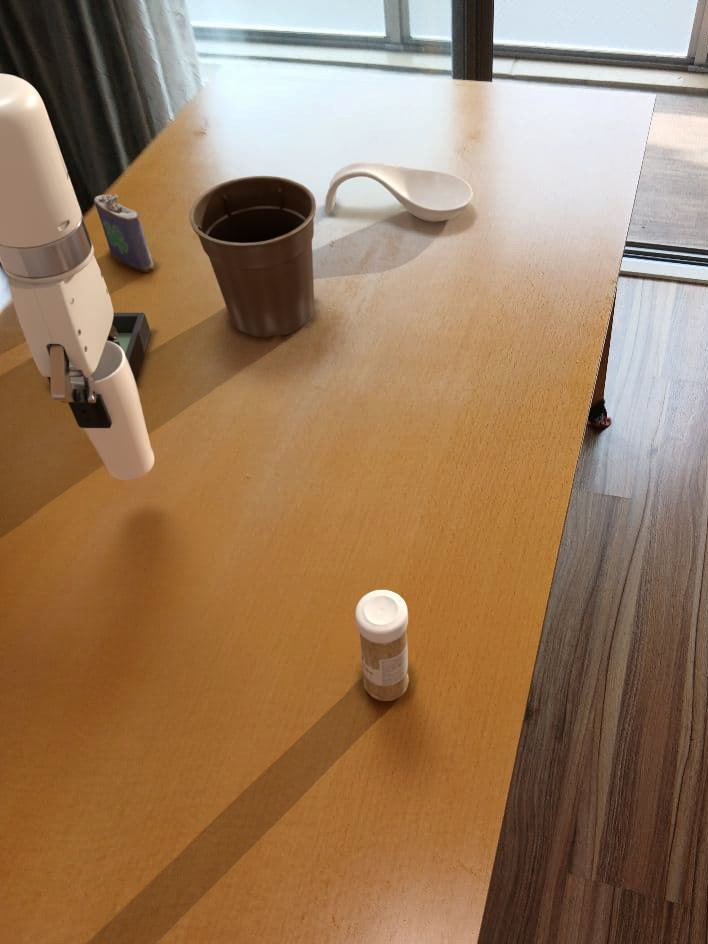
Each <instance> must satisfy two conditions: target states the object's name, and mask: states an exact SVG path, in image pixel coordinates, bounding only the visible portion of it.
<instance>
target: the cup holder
mask: <svg viewBox="0 0 708 944" xmlns="http://www.w3.org/2000/svg"><path fill="white" fill-rule="evenodd" d="M112 324H113V326H114V327H115V328H116V330H117V333H118V338H117V340H114V342H119V344H120V346H121V348H122V349H123V351H124V353H125V356H126V358H127V360H128V363H129V365H130V368H131V370H132V373H133V376H134V379H135V382H136V383H137V380H138V376H139V374H140V371H141V367H142V364H143V361H144V358H145V355H146V354H145V353H146V351H147V347H148V344H149V341H150V338H151V335H152V331H151V329H150V325H149V321H148V319H147V317H146V313H145V312H114V316H113V322H112ZM46 378H47V380H48V382H49V385H51V377H46Z"/></svg>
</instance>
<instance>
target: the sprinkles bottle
mask: <svg viewBox="0 0 708 944" xmlns="http://www.w3.org/2000/svg"><path fill="white" fill-rule="evenodd" d="M354 613H355V625H356V628H357V630H358V633H359V638H360V639H359V640H360V642H359V643H360V644H359V645H360V653H361V663H362V671H363V679H362V681H363V687H364V689H365V691H366V692H367V694H368V695H369V696H371V697H372V698H373V699H375V700H376V701H381V702H392V701H395V700H397V699H399V698H401V697H402V696H403V695H404V694H405V692H407V689H408V688H409V687H408V686H409V684H410V683H409V682H410V678H409V672H408V668H409V656H408V655H409V654H408V635H407V627H408V624H409V611H408V606H407V603H406V602H405V600H404V598H403V597H402V596H400V594H398V593H396V592H394V591H391V590H388V589H376V590H372V591H370V592H368V593H366V594H364V596H362V597H361V599H360V600H359V601H358V603H357V604H356V607H355V612H354Z"/></svg>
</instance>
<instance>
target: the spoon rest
mask: <svg viewBox="0 0 708 944" xmlns="http://www.w3.org/2000/svg"><path fill="white" fill-rule="evenodd" d="M358 177H361V178H363V177H365V178H369V179H372V180H374V181H376V182H377V183H379V184H381V186H383V187H384V188H385V189H386V190H387V191H388V192H390V194H391V195H392V196H393V197H394V198H395V199H396V200H397V202H398V203H400V205H401V206H402V207H403V208H404V209H405V210H406V211H407V212H409V214H411V215H412V216H414V217H416V218H418V219H419V220H422V221H424V222H427V223H428V222H429V223H438V222H442V221H448V220H450V219H453V218H455V217H457V216H458V215H460V214H462V213H463V212H464V211H465V210H466V209H467V208H468V207H469V205H470V204H471V202H472V201H473V198H474V197H473V196H474V193H473V189H472V187H471V185H470V184H469V183H468V182H467V181H465V180H464V179H463V178H461V177H459V176H457V175H454V174H451V173H448V172H444V171H439V170H433V169H424V168H417V167H416V168H415V167H408V166H403V165H397V164H390V163H384V162H383V163H382V162H375V161H360V162H359V161H358V162H352V163H350V164H348V165H345V166H343V167H342V168H340V169H338V170H337V172H335V174H334V175H333V176H332V178H331V180H330V183H329V187H328V190H327V192H326V195H325V204H324V210H325V211H324V212H325V213H327V214H329V213H331V212H332V211H333V210H334V208H335V204H336V200H337V191H338V189H339V187H340V185H341V184H343V183H344V182H347V181H348V180H350V179H354V178H358Z"/></svg>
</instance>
